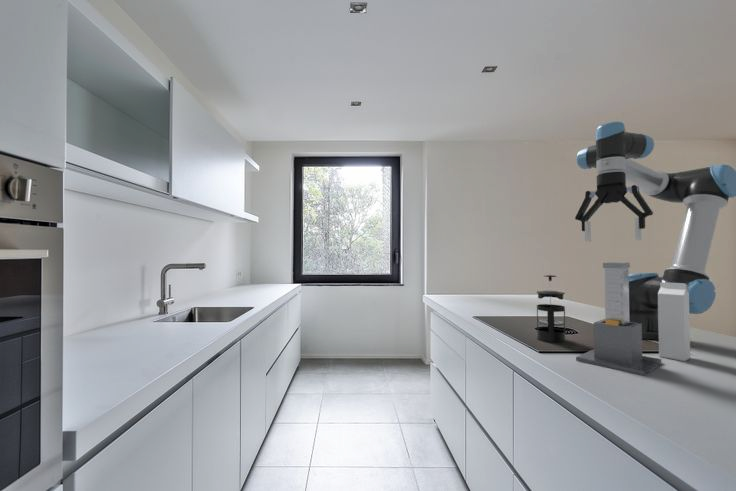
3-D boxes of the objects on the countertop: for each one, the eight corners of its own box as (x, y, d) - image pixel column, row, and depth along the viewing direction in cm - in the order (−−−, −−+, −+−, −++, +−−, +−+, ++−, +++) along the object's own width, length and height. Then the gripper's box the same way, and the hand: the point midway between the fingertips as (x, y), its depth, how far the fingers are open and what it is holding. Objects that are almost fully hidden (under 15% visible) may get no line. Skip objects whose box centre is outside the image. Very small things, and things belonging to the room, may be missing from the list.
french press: (567, 344, 120) (566, 276, 120) (536, 341, 124) (535, 275, 124) (564, 337, 130) (563, 274, 131) (536, 334, 135) (535, 273, 135)
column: (612, 331, 105) (611, 262, 105) (631, 333, 102) (629, 262, 102) (604, 334, 101) (602, 262, 101) (622, 337, 97) (621, 263, 98)
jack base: (597, 350, 112) (596, 312, 112) (661, 362, 100) (660, 319, 100) (576, 360, 102) (575, 318, 102) (644, 375, 90) (643, 326, 90)
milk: (685, 361, 101) (683, 284, 101) (658, 356, 106) (657, 282, 106) (690, 357, 105) (689, 282, 105) (664, 352, 109) (663, 281, 110)
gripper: (563, 178, 119) (564, 241, 118) (657, 163, 99) (659, 239, 99) (573, 181, 124) (574, 241, 123) (664, 167, 104) (666, 239, 104)
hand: (612, 240), depth 111 cm, fingers open, 13 cm apart
